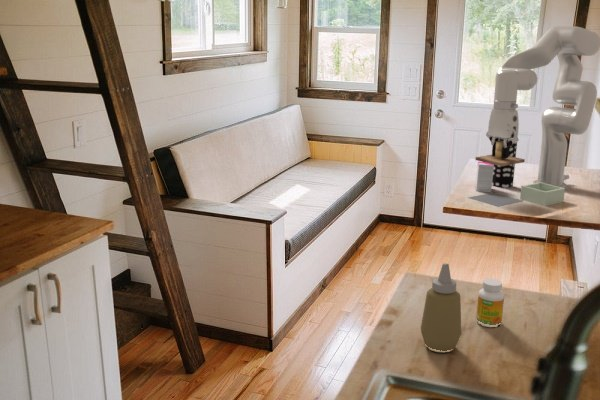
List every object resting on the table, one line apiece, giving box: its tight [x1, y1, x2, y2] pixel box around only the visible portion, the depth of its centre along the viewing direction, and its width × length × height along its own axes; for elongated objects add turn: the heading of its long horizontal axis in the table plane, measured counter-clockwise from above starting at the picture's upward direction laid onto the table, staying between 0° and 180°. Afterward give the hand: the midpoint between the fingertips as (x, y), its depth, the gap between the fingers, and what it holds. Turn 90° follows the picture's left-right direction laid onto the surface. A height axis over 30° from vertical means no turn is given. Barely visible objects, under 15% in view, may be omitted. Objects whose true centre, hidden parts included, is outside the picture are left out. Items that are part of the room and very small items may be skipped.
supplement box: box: [474, 161, 494, 193], centre depth 247 cm, size 6×6×12 cm
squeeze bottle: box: [420, 262, 462, 351], centre depth 128 cm, size 8×8×18 cm
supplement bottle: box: [475, 278, 505, 325], centre depth 140 cm, size 5×5×10 cm
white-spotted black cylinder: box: [492, 138, 518, 189], centre depth 254 cm, size 8×8×20 cm
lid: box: [474, 141, 526, 166], centre depth 231 cm, size 12×12×7 cm
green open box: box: [519, 182, 566, 207], centre depth 234 cm, size 11×11×6 cm
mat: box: [467, 192, 523, 208], centre depth 236 cm, size 14×14×1 cm
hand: (500, 156), depth 231 cm, fingers closed on lid, 3 cm apart
